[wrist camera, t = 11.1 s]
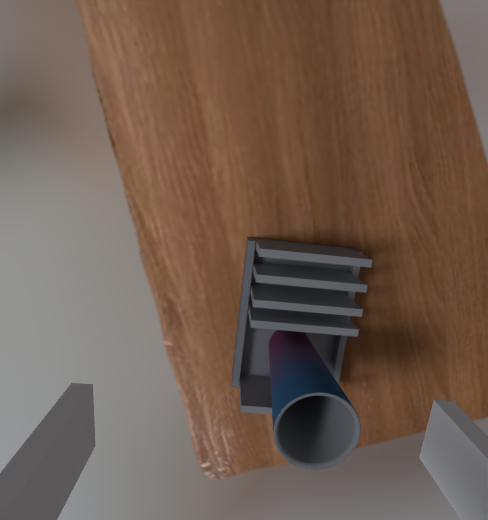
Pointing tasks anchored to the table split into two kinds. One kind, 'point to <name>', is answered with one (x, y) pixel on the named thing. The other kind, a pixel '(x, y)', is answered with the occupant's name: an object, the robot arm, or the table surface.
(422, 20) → the table surface
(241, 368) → the rack
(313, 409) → the cup
